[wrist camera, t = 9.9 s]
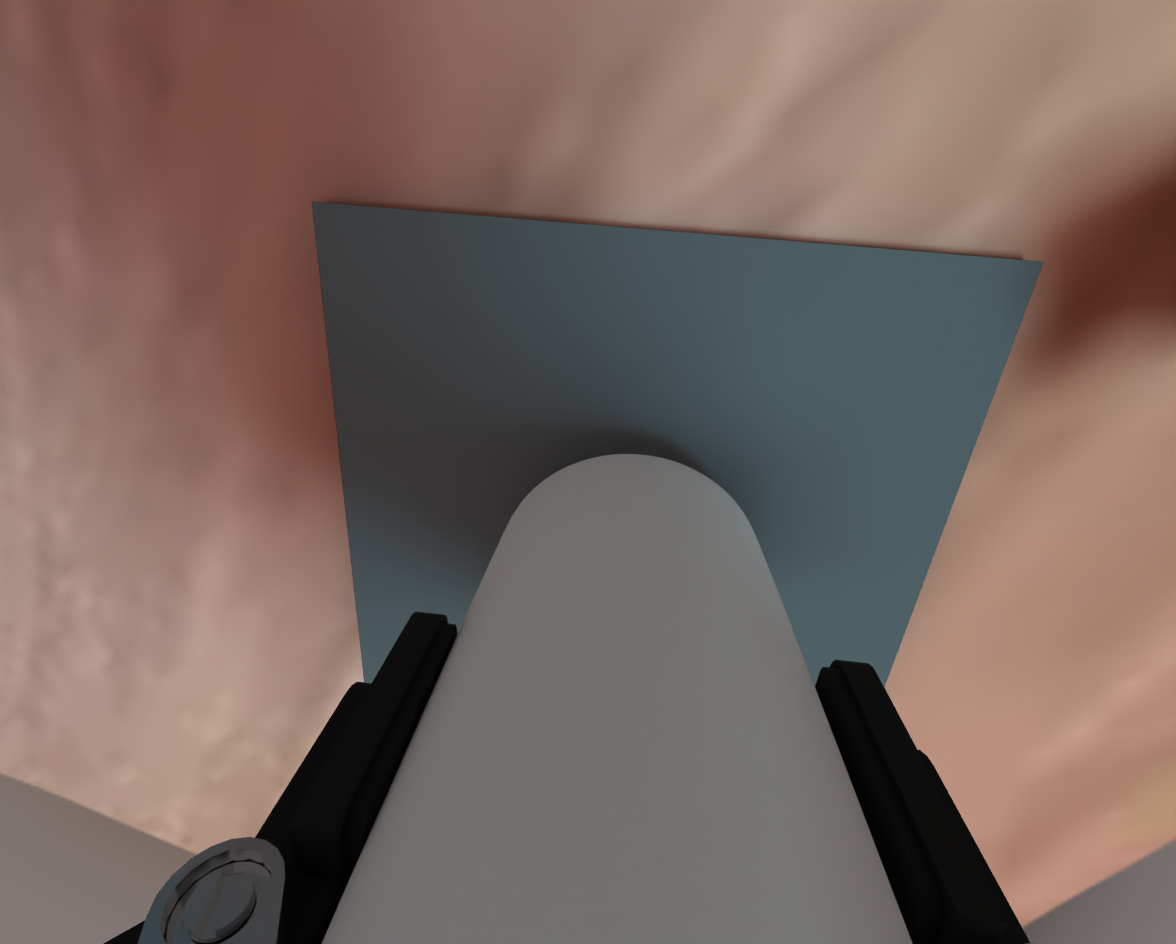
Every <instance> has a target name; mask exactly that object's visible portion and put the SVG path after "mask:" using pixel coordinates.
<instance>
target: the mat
mask: <svg viewBox="0 0 1176 944" xmlns="http://www.w3.org/2000/svg"><path fill="white" fill-rule="evenodd" d="M312 208H313V218H314V227H315V236H316V245H317V254H318V263H319V272H320V282H321V291H322V300H323V309H324V318H325V327H326V336H327V346H328V355H329V364H330V373H331V382H332V391H333V401H334V410H335V419H336V428H337V437H338V446H339V455H340V465H341V474H342V483H343V492H344V501H345V510H346V519H347V529H348V538H349V547H350V556H351V565H352V574H353V583H354V593H355V602H356V611H357V620H358V629H359V638H360V647H361V657H362V666H363V675H364V683H372V682H373V680H374V678H375V676H376V675H377V673H378V671H379V670H380V668H381V666H382V664H383V663H384V661H385V659H386V658H387V656H388V654H389V652H390V651H391V649H392V647H393V646H394V644H395V642H396V641H397V639H398V637H399V635H400V634H401V632H402V630H403V629H404V627H405V625H406V623H407V622H408V620H409V618H410V617H411V615H412V614H413V613H414V612H425V613H434V614H443V615H446V616H447V619H448V623H449V624H455V625H456V626H457V635H458V633H459V630H460V628H461V626H462V624H463V621H464V619H465V617H466V615H467V612H468V610H469V608H470V606H471V603H472V601H473V599H474V597H475V594H476V592H477V590H478V588H479V586H480V583H481V581H482V579H483V577H484V574H485V572H486V570H487V568H488V566H489V563H490V561H491V559H492V557H493V554H494V552H495V550H496V548H497V546H498V544H499V542H500V539H501V537H502V535H503V533H504V531H505V529H506V527H507V525H508V523H509V521H510V519H511V517H512V515H513V514H514V512H515V511H516V509H517V508H518V506H519V505H520V503H521V502H522V501H523V500H524V498H525V497H526V496H527V495H528V494H529V493H530V492H531V491H532V490H533V489H534V488H535V487H536V486H537V485H538V484H540V483H541V482H542V481H544V480H545V479H546V478H548V477H549V476H551V475H552V474H554V473H556V472H557V471H559V470H561V469H563V468H565V467H567V466H570V465H572V464H575V463H577V462H580V461H583V460H587V459H590V458H595V457H600V456H606V455H614V454H640V455H649V456H655V457H660V458H664V459H668V460H672V461H675V462H678V463H680V464H683V465H685V466H688V467H690V468H692V469H694V470H696V471H698V472H700V473H702V474H703V475H705V476H707V477H708V478H710V479H711V480H712V481H714V482H715V483H716V484H718V485H719V486H720V487H721V488H723V489H724V490H725V491H726V492H727V493H728V494H729V495H730V496H731V497H732V498H733V499H734V501H735V502H736V503H737V504H738V506H739V507H740V508H741V510H742V511H743V513H744V514H745V516H746V517H747V519H748V521H749V523H750V525H751V527H752V529H753V531H754V533H755V535H756V538H757V540H758V542H759V545H760V547H761V550H762V552H763V555H764V557H765V560H766V562H767V565H768V567H769V570H770V572H771V575H772V577H773V580H774V583H775V585H776V588H777V590H778V593H779V595H780V598H781V601H782V603H783V606H784V608H785V611H786V613H787V616H788V619H789V621H790V624H791V626H792V629H793V632H794V634H795V637H796V639H797V642H798V645H799V647H800V650H801V652H802V655H803V658H804V660H805V663H806V665H807V668H808V671H809V673H810V676H811V678H812V681H813V684H814V686H815V685H816V682H817V679H818V675H819V672H820V670H821V669H822V667H830V665H831V663H832V662H833V661H834V660H844V661H853V662H861V663H868V664H870V665H872V667H873V668H874V669H875V671H876V673H877V675H878V677H879V679H880V681H881V682H882V684H883V686H885V684H886V681H887V678H888V676H889V673H890V670H891V668H892V665H893V662H894V660H895V657H896V654H897V652H898V649H899V646H900V644H901V641H902V638H903V636H904V633H905V630H906V628H907V625H908V622H909V620H910V617H911V614H912V612H913V609H914V606H915V604H916V601H917V598H918V596H919V593H920V590H921V588H922V585H923V582H924V580H925V577H926V574H927V572H928V569H929V566H930V564H931V561H932V558H933V556H934V553H935V550H936V548H937V545H938V542H939V540H940V537H941V534H942V532H943V529H944V526H945V524H946V521H947V518H948V516H949V513H950V510H951V508H952V505H953V502H954V500H955V497H956V494H957V492H958V489H959V486H960V484H961V481H962V478H963V476H964V473H965V470H966V468H967V465H968V462H969V460H970V457H971V454H972V451H973V449H974V446H975V443H976V441H977V438H978V435H979V433H980V430H981V427H982V425H983V422H984V419H985V417H986V414H987V411H988V409H989V406H990V403H991V401H992V398H993V395H994V393H995V390H996V387H997V385H998V382H999V379H1000V377H1001V374H1002V371H1003V369H1004V366H1005V363H1006V361H1007V358H1008V355H1009V353H1010V350H1011V347H1012V345H1013V342H1014V339H1015V337H1016V334H1017V331H1018V329H1019V326H1020V323H1021V321H1022V318H1023V315H1024V313H1025V310H1026V307H1027V305H1028V302H1029V299H1030V297H1031V294H1032V291H1033V289H1034V286H1035V283H1036V281H1037V278H1038V275H1039V273H1040V270H1041V267H1042V265H1043V262H1041V261H1029V260H1017V259H1005V258H992V257H980V256H968V255H956V254H944V253H931V252H919V251H907V250H895V249H883V248H870V247H858V246H846V245H834V244H822V243H809V242H797V241H785V240H773V239H761V238H748V237H736V236H724V235H712V234H700V233H687V232H675V231H663V230H651V229H639V228H626V227H614V226H602V225H590V224H578V223H565V222H553V221H541V220H529V219H517V218H504V217H492V216H480V215H468V214H456V213H443V212H431V211H419V210H407V209H395V208H382V207H370V206H358V205H346V204H334V203H321V202H312Z"/></svg>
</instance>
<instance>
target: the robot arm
mask: <svg viewBox="0 0 1176 944" xmlns="http://www.w3.org/2000/svg"><path fill="white" fill-rule="evenodd" d="M456 637H457V626H456V625H455V624H449V623H448V619H447V616H446V615H443V614H434V613H425V612H414V613H413V614H412V615H411V617H410V618H409V620H408V622H407V623H406V625H405V627H404V629H403V630H402V632H401V634H400V635H399V637H398V639H397V641H396V642H395V644H394V646H393V647H392V649H391V651H390V652H389V654H388V656H387V658H386V659H385V661H384V663H383V664H382V666H381V668H380V670H379V671H378V673H377V675H376V676H375V678H374V680H373V682H372V683H364V682H356V683H355V684H353V685H352V686H351V687H350V688H349V690H348V691H347V692H346V694H345V695H344V697H343V698H342V700H341V702H340V703H339V705H338V706H337V708H336V710H335V711H334V713H333V714H332V716H331V718H330V719H329V721H328V722H327V724H326V726H325V727H324V729H323V730H322V732H321V734H320V735H319V737H318V738H317V740H316V741H315V743H314V745H313V746H312V748H311V749H310V751H309V753H308V754H307V756H306V757H305V759H304V761H303V762H302V764H301V765H300V767H299V769H298V770H297V772H296V773H295V775H294V777H293V778H292V780H291V781H290V783H289V785H288V786H287V788H286V789H285V791H284V792H283V794H282V796H281V797H280V799H279V800H278V802H277V804H276V805H275V807H274V808H273V810H272V812H271V813H270V815H269V816H268V818H267V820H266V821H265V823H264V824H263V826H262V828H261V829H260V831H259V832H258V834H257V836H256V837H255V838H253V837H245V838H236V839H230V840H227V841H225V842H222V843H219V844H216V845H214V846H211V847H209V848H208V849H206V850H204V851H203V852H201V853H199V854H198V855H196V856H194V857H193V858H191V859H190V860H189V861H188V862H186V864H184V865H183V866H182V867H181V868H180V869H179V870H178V871H176V872H175V873H174V874H173V875H172V876H171V877H170V879H169V880H168V881H167V882H166V884H165V885H164V886H163V887H162V889H161V890H160V891H159V892H158V894H157V895H156V897H155V900H154V902H153V904H152V906H151V908H150V910H149V912H148V914H147V916H146V919H145V921H143V922H141V923H139V924H138V925H136V926H134V927H132V928H131V929H129V930H127V931H125V932H123V933H122V934H120V935H118V936H116V937H115V938H113V939H111V940H109V941H107V942H106V943H104V944H322V941H323V939H324V937H325V935H326V932H327V930H328V928H329V925H330V923H331V921H332V918H333V916H334V914H335V912H336V909H337V907H338V905H339V902H340V900H341V898H342V895H343V893H344V891H345V888H346V886H347V884H348V882H349V879H350V877H351V875H352V873H353V870H354V868H355V866H356V863H357V861H358V859H359V857H360V854H361V852H362V850H363V848H364V845H365V843H366V841H367V838H368V836H369V834H370V832H371V829H372V827H373V825H374V822H375V820H376V818H377V816H378V813H379V811H380V809H381V807H382V804H383V802H384V800H385V797H386V795H387V793H388V791H389V788H390V786H391V784H392V782H393V779H394V777H395V775H396V772H397V770H398V768H399V766H400V763H401V761H402V759H403V757H404V754H405V752H406V750H407V748H408V745H409V743H410V741H411V739H412V736H413V734H414V732H415V730H416V727H417V725H418V723H419V720H420V718H421V716H422V714H423V711H424V709H425V707H426V705H427V702H428V700H429V698H430V696H431V693H432V691H433V689H434V687H435V684H436V682H437V680H438V678H439V675H440V673H441V671H442V669H443V666H444V664H445V662H446V660H447V657H448V655H449V653H450V651H451V648H452V646H453V644H454V642H455V639H456ZM815 689H816V691H817V694H818V697H819V699H820V702H821V704H822V707H823V710H824V712H825V715H826V717H827V720H828V723H829V725H830V728H831V731H832V733H833V736H834V738H835V741H836V744H837V746H838V749H839V751H840V754H841V757H842V759H843V762H844V765H845V767H846V770H847V772H848V775H849V778H850V780H851V783H852V785H853V788H854V791H855V793H856V796H857V799H858V801H859V804H860V806H861V809H862V812H863V814H864V817H865V820H866V822H867V825H868V828H869V830H870V833H871V835H872V838H873V841H874V843H875V846H876V849H877V851H878V854H879V857H880V859H881V862H882V864H883V867H884V870H885V872H886V875H887V878H888V880H889V883H890V885H891V888H892V891H893V893H894V896H895V899H896V901H897V904H898V907H899V909H900V912H901V914H902V917H903V920H904V922H905V925H906V928H907V930H908V933H909V936H910V938H911V941H912V943H913V944H1034V943H1030V942H1029V940H1028V938H1027V936H1026V934H1025V933H1024V931H1023V929H1022V927H1021V925H1020V923H1019V921H1018V920H1017V918H1016V916H1015V914H1014V912H1013V910H1012V909H1011V907H1010V905H1009V903H1008V901H1007V899H1006V898H1005V896H1004V894H1003V892H1002V890H1001V888H1000V887H999V885H998V883H997V881H996V879H995V877H994V876H993V874H992V872H991V870H990V868H989V866H988V865H987V863H986V861H985V859H984V857H983V855H982V854H981V852H980V850H979V848H978V846H977V844H976V843H975V841H974V839H973V837H972V835H971V833H970V832H969V830H968V828H967V826H966V824H965V822H964V821H963V819H962V817H961V815H960V813H959V811H958V810H957V808H956V806H955V804H954V802H953V800H952V799H951V797H950V795H949V793H948V791H947V789H946V788H945V786H944V784H943V782H942V780H941V778H940V777H939V775H938V773H937V771H936V769H935V768H934V766H933V764H932V763H931V761H930V760H929V758H928V757H927V755H925V754H924V753H923V752H921V751H920V750H917V748H916V746H915V745H914V743H913V741H912V739H911V737H910V735H909V733H908V731H907V730H906V728H905V726H904V724H903V722H902V720H901V718H900V716H899V714H898V713H897V711H896V709H895V707H894V705H893V703H892V701H891V699H890V698H889V696H888V694H887V692H886V690H885V688H884V686H883V684H882V682H881V681H880V679H879V677H878V675H877V673H876V671H875V669H874V668H873V667H872V665H870V664H868V663H861V662H853V661H844V660H834V661H833V662H832V663H831V665H830V667H822V669H821V670H820V672H819V675H818V679H817V682H816V685H815Z"/></svg>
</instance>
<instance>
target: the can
mask: <svg viewBox="0 0 1176 944" xmlns="http://www.w3.org/2000/svg"><path fill="white" fill-rule="evenodd" d="M322 944H913V943H912V941H911V938H910V936H909V933H908V930H907V928H906V925H905V922H904V920H903V917H902V914H901V912H900V909H899V907H898V904H897V901H896V899H895V896H894V893H893V891H892V888H891V885H890V883H889V880H888V878H887V875H886V872H885V870H884V867H883V864H882V862H881V859H880V857H879V854H878V851H877V849H876V846H875V843H874V841H873V838H872V835H871V833H870V830H869V828H868V825H867V822H866V820H865V817H864V814H863V812H862V809H861V806H860V804H859V801H858V799H857V796H856V793H855V791H854V788H853V785H852V783H851V780H850V778H849V775H848V772H847V770H846V767H845V765H844V762H843V759H842V757H841V754H840V751H839V749H838V746H837V744H836V741H835V738H834V736H833V733H832V731H831V728H830V725H829V723H828V720H827V717H826V715H825V712H824V710H823V707H822V704H821V702H820V699H819V697H818V694H817V691H816V689H815V686H814V684H813V681H812V678H811V676H810V673H809V671H808V668H807V665H806V663H805V660H804V658H803V655H802V652H801V650H800V647H799V645H798V642H797V639H796V637H795V634H794V632H793V629H792V626H791V624H790V621H789V619H788V616H787V613H786V611H785V608H784V606H783V603H782V601H781V598H780V595H779V593H778V590H777V588H776V585H775V583H774V580H773V577H772V575H771V572H770V570H769V567H768V565H767V562H766V560H765V557H764V555H763V552H762V550H761V547H760V545H759V542H758V540H757V538H756V535H755V533H754V531H753V529H752V527H751V525H750V523H749V521H748V519H747V517H746V516H745V514H744V513H743V511H742V510H741V508H740V507H739V506H738V504H737V503H736V502H735V501H734V499H733V498H732V497H731V496H730V495H729V494H728V493H727V492H726V491H725V490H724V489H723V488H721V487H720V486H719V485H718V484H716V483H715V482H714V481H712V480H711V479H710V478H708V477H707V476H705V475H703V474H702V473H700V472H698V471H696V470H694V469H692V468H690V467H688V466H685V465H683V464H680V463H678V462H675V461H672V460H668V459H664V458H660V457H655V456H649V455H640V454H614V455H606V456H600V457H595V458H590V459H587V460H583V461H580V462H577V463H575V464H572V465H570V466H567V467H565V468H563V469H561V470H559V471H557V472H556V473H554V474H552V475H551V476H549V477H548V478H546V479H545V480H544V481H542V482H541V483H540V484H538V485H537V486H536V487H535V488H534V489H533V490H532V491H531V492H530V493H529V494H528V495H527V496H526V497H525V498H524V500H523V501H522V502H521V503H520V505H519V506H518V508H517V509H516V511H515V512H514V514H513V515H512V517H511V519H510V521H509V523H508V525H507V527H506V529H505V531H504V533H503V535H502V537H501V539H500V542H499V544H498V546H497V548H496V550H495V552H494V554H493V557H492V559H491V561H490V563H489V566H488V568H487V570H486V572H485V574H484V577H483V579H482V581H481V583H480V586H479V588H478V590H477V592H476V594H475V597H474V599H473V601H472V603H471V606H470V608H469V610H468V612H467V615H466V617H465V619H464V621H463V624H462V626H461V628H460V630H459V633H458V635H457V637H456V639H455V642H454V644H453V646H452V648H451V651H450V653H449V655H448V657H447V660H446V662H445V664H444V666H443V669H442V671H441V673H440V675H439V678H438V680H437V682H436V684H435V687H434V689H433V691H432V693H431V696H430V698H429V700H428V702H427V705H426V707H425V709H424V711H423V714H422V716H421V718H420V720H419V723H418V725H417V727H416V730H415V732H414V734H413V736H412V739H411V741H410V743H409V745H408V748H407V750H406V752H405V754H404V757H403V759H402V761H401V763H400V766H399V768H398V770H397V772H396V775H395V777H394V779H393V782H392V784H391V786H390V788H389V791H388V793H387V795H386V797H385V800H384V802H383V804H382V807H381V809H380V811H379V813H378V816H377V818H376V820H375V822H374V825H373V827H372V829H371V832H370V834H369V836H368V838H367V841H366V843H365V845H364V848H363V850H362V852H361V854H360V857H359V859H358V861H357V863H356V866H355V868H354V870H353V873H352V875H351V877H350V879H349V882H348V884H347V886H346V888H345V891H344V893H343V895H342V898H341V900H340V902H339V905H338V907H337V909H336V912H335V914H334V916H333V918H332V921H331V923H330V925H329V928H328V930H327V932H326V935H325V937H324V939H323V941H322Z"/></svg>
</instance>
